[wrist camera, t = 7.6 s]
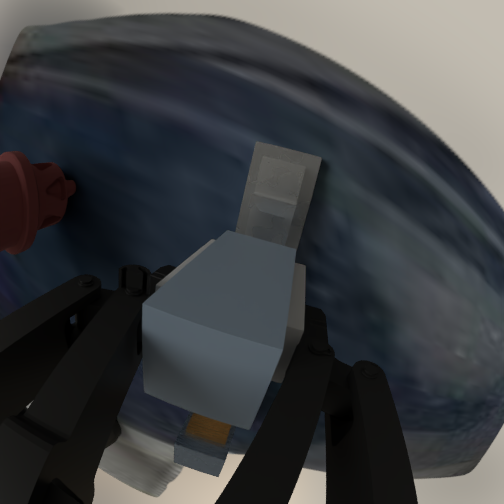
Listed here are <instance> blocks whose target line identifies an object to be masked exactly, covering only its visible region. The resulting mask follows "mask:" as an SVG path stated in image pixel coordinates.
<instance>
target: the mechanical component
mask: <svg viewBox="0 0 504 504" xmlns="http://www.w3.org/2000/svg"><path fill="white" fill-rule="evenodd" d="M75 191H76V184H75V182H74V181H73V180H66V179H65V176H64V174H63V172H62V170H61V168H60V167H59V166H58V165H57V164H55V163H52V162H48V163H38V164H30V162H29V160H28V159H27V157H26V156H25V155H24V154H23V153H21V152H19V151H12V152H5V153H3V154H2V155H0V251H3V250H6V251H7V252H9V253H11V254H18V253H20V252H23V251H25V250H27V249H28V248H30V246H31V245H32V243H33V241H34V239H35V236H36V232H37V230H39V229H42V228H45V227H48V226H51V225H54V224H57V223H58V222H59V221H60V220H61V219H62V218H63V216H64V214H65V211H66V207H67V201H68V197H70V196H71V195H73V194H74V193H75Z"/></svg>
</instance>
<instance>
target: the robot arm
mask: <svg viewBox="0 0 504 504" xmlns="http://www.w3.org/2000/svg"><path fill="white" fill-rule="evenodd" d="M214 241H215V240H213V239H211V240H210V241H209V242H208V243H206V244H205V245H204V246H203V247H201V248H200V249H199V250H198V251H197V252H195V253H194V254H193V255H192V256H190V257H189V258H188V259H187V260H185V261H184V262H183V263H182V264H181V265H179V266H178V267H174V266H171V265H167V266H164V267H160V268H159V269H158V270H156V271H155V272H154V273H152V274H151V272H150V270H149V269H147V268H146V267H143V266H140V265H126V266H122V267H121V268H119V288H118V289H117V290H116V291H112V290H107V289H102V288H101V281H100V279H99V278H97V277H96V276H92V275H88V274H85V275H80V276H77V277H75V278H73V279H71V280H69V281H67V282H66V283H64V284H62V285H60V286H58V287H56V288H55V289H53V290H51V291H49V292H47V293H46V294H44V295H42V296H40V297H39V298H37V299H35V300H33V301H32V302H30V303H28V304H26V305H25V306H23V307H21V308H20V309H18V310H16V311H15V312H13V313H11V314H10V315H8V316H6V317H5V318H3V319H2V320H0V504H92V502H93V498H94V478H95V474H96V471H97V469H98V466H99V463H100V460H101V457H102V455H103V452H104V449H105V448H107V447H108V446H110V445H111V444H113V443H114V442H115V441H116V440H117V439H118V437H119V436H120V434H121V429H120V426H119V424H118V422H117V421H116V418H117V416H118V413H119V411H120V408H121V406H122V403H123V401H124V399H125V396H126V394H127V391H128V389H129V387H130V384H131V382H132V380H133V377H134V375H135V373H136V371H137V368H138V366H139V364H140V362H141V359H142V357H143V356H142V306H143V303H144V302H145V301H146V300H147V299H148V298H149V297H150V296H151V295H153V294H154V293H155V292H156V291H157V290H158V289H159V288H160V287H162V286H163V285H164V284H165V283H166V282H167V281H169V280H170V279H171V278H172V277H173V276H174V275H175V274H177V273H178V272H179V271H180V270H181V269H182V268H184V267H185V266H186V265H187V264H188V263H189V262H191V261H192V260H193V259H194V258H195V257H196V256H198V255H199V254H200V253H201V252H202V251H203V250H205V249H206V248H207V247H208V246H209V245H211V244H212V243H213V242H214ZM305 275H306V265H302V264H299V263H295V265H294V274H293V282H292V290H291V298H290V305H289V313H288V320H287V327H286V334H285V340H284V347H283V351H282V354H281V356H280V359H279V361H278V364H277V366H276V369H275V371H274V374H273V376H272V379H271V381H274V382H278V383H282V381H283V379H284V377H285V379H284V381H283V384H282V386H281V388H280V390H279V392H278V394H277V396H276V398H275V400H274V402H273V404H272V406H271V408H270V410H269V412H268V414H267V416H266V417H265V419H264V421H263V423H262V425H261V427H260V429H259V431H258V432H257V434H256V436H255V438H254V440H253V442H252V443H251V445H250V447H249V449H248V450H247V452H246V454H245V456H244V457H243V459H242V461H241V463H240V464H239V466H238V468H237V469H236V471H235V473H234V474H233V476H232V478H231V479H230V481H229V482H228V484H227V486H226V487H225V489H224V490H223V492H222V493H221V495H220V497H219V498H218V500H217V501H216V503H215V504H288V502H289V500H290V498H291V495H292V493H293V490H294V488H295V485H296V483H297V480H298V478H299V475H300V472H301V470H302V467H303V464H304V462H305V459H306V456H307V453H308V450H309V447H310V444H311V441H312V438H313V435H314V432H315V429H316V425H317V422H318V419H319V415H320V412H321V411H323V412H325V433H326V504H418V502H417V495H416V490H415V485H414V479H413V475H412V470H411V465H410V461H409V457H408V452H407V448H406V444H405V440H404V436H403V433H402V429H401V425H400V421H399V418H398V414H397V411H396V408H395V404H394V401H393V398H392V394H391V391H390V388H389V385H388V382H387V379H386V376H385V373H384V372H383V370H382V369H381V368H380V367H379V366H378V365H376V364H375V363H373V362H369V361H362V360H361V361H358V362H356V363H355V364H354V366H353V367H351V366H349V365H347V364H345V363H342V362H341V361H339V360H337V359H336V358H335V352H334V350H333V348H332V347H331V346H330V345H329V344H328V336H327V325H326V316H325V314H324V313H323V311H322V310H321V309H319V308H315V307H311V306H308V305H305ZM73 315H75V321H76V322H75V323H73V324H71V323H70V317H72V316H73ZM32 401H33V402H32ZM31 402H32V403H31ZM29 403H31V405H30V406H29V408H28V409H27V407H26V406H27V405H28V404H29Z"/></svg>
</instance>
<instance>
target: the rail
mask: <svg viewBox="0 0 504 504" xmlns="http://www.w3.org/2000/svg"><path fill="white" fill-rule="evenodd" d="M321 159H322V158H321V157H317V156H314V155H310V154H307V153H303V152H299V151H295V150H291V149H287V148H283V147H279V146H275V145H270V144H266V143H261V142H257V141H256V144H255V149H254V153H253V157H252V161H251V165H250V170H249V174H248V178H247V183H246V187H245V191H244V196H243V200H242V205H241V209H240V214H239V218H238V223H237V227H236V233H239V234H243V235H247V236H250V237H254V238H258V239H261V240H265V241H269V242H272V243H276V244H280V245H283V246H287V247H290V248H294V249H296V251H297V248H298V244H299V241H300V237H301V234H302V230H303V227H304V223H305V220H306V216H307V213H308V209H309V205H310V202H311V198H312V194H313V190H314V187H315V183H316V179H317V175H318V171H319V167H320V163H321ZM235 428H236V426H234V425H230V424H227V423H224V422H220V421H217V420H214V419H211V418H208V417H205V416H202V415H199V414H197V413H194V412H191V411H190V413H189V415H188V417H187V419H186V421H185V423H184V425H183V427H182V429H181V431H180V433H179V435H178V437H177V439H176V441H175V443H174V462H175V463H178V464H180V465H183V466H186V467H189V468H191V469H194V470H197V471H200V472H203V473H207V474H210V475H213V476H216V477H219V474H220V472H221V470H222V467H223V465H224V463H225V460H226V457H227V454H228V451H229V448H230V444H231V441H232V438H233V435H234V431H235Z"/></svg>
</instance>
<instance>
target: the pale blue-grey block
mask: <svg viewBox="0 0 504 504" xmlns="http://www.w3.org/2000/svg"><path fill="white" fill-rule="evenodd" d="M295 257H296V249H294V248H290V247H287V246H283V245H280V244H276V243H272V242H269V241H265V240H261V239H258V238H254V237H250V236H247V235H243V234H239V233H236V232H232V231H228V230H227V231H226V232H225V233H224V234H223V235H221V236H220V237H219V238H218V239H217V240H215V241H214V242H213V243H212V244H211V245H209V246H208V247H207V248H206V249H205V250H203V251H202V252H201V253H200V254H199V255H198V256H196V257H195V258H194V259H193V260H192V261H191V262H189V263H188V264H187V265H186V266H185V267H184V268H182V269H181V270H180V271H179V272H178V273H177V274H175V275H174V276H173V277H172V278H171V279H170V280H169V281H167V282H166V283H165V284H164V285H163V286H162V287H160V288H159V289H158V290H157V291H156V292H155V293H154V294H153V295H151V296H150V297H149V298H148V299H147V300H146V301H145V302H144V303H143V306H142V356H143V380H144V392H145V393H147V394H150V395H152V396H154V397H156V398H159V399H161V400H163V401H166V402H168V403H170V404H173V405H175V406H178V407H181V408H183V409H186V410H188V411H191V412H194V413H197V414H199V415H202V416H205V417H208V418H211V419H214V420H217V421H220V422H224V423H227V424H230V425H234V426H237V427H241V428H244V429H248V430H250V428H251V425H252V423H253V421H254V419H255V416H256V414H257V412H258V410H259V407H260V405H261V403H262V400H263V398H264V396H265V393H266V391H267V389H268V386H269V384H270V381H271V379H272V376H273V374H274V371H275V369H276V366H277V364H278V361H279V359H280V356H281V354H282V351H283V347H284V340H285V334H286V327H287V320H288V313H289V305H290V298H291V290H292V282H293V274H294V265H295Z"/></svg>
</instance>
